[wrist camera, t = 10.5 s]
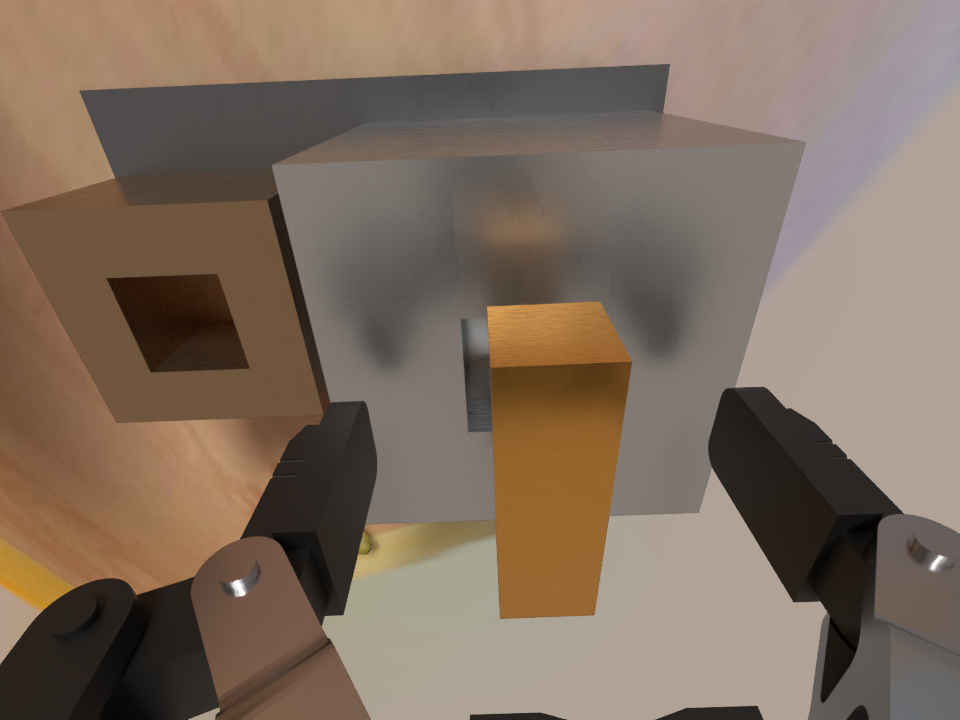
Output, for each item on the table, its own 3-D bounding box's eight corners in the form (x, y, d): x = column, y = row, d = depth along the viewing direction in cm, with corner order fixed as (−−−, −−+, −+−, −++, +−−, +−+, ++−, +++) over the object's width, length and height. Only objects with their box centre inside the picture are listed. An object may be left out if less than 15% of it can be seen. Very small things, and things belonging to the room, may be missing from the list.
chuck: (218, 380, 26) (65, 564, 16) (106, 89, 19) (-291, 105, 9) (617, 365, 26) (704, 542, 16) (656, 64, 19) (858, 53, 9)
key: (547, 402, 18) (594, 615, 11) (489, 405, 18) (500, 619, 11) (555, 217, 14) (631, 361, 7) (482, 220, 14) (490, 367, 7)
